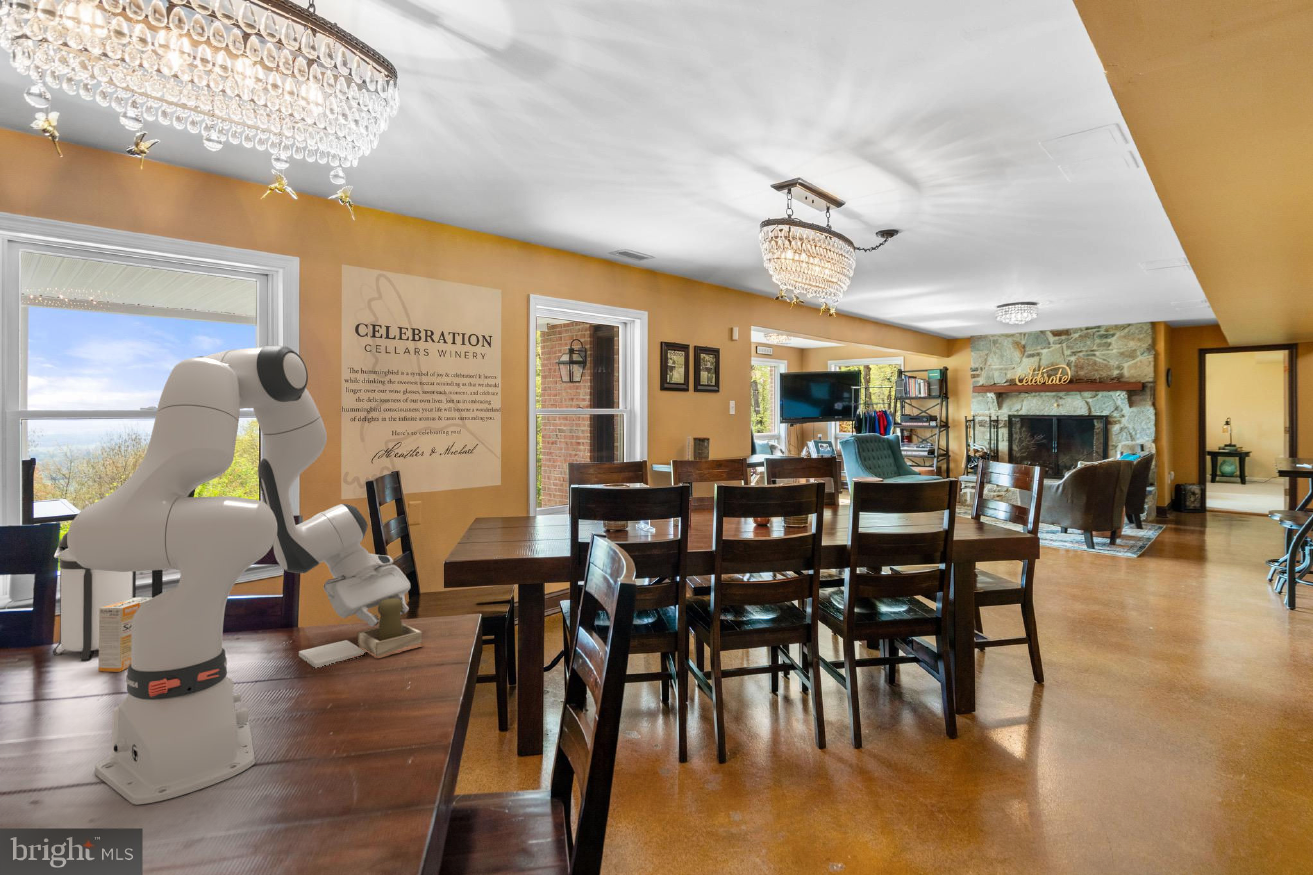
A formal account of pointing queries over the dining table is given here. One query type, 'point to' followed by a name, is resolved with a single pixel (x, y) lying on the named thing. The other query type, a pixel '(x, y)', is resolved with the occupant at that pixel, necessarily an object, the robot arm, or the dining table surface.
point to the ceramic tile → (330, 653)
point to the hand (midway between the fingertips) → (391, 618)
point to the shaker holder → (388, 640)
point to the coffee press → (90, 599)
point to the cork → (390, 619)
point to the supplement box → (117, 634)
